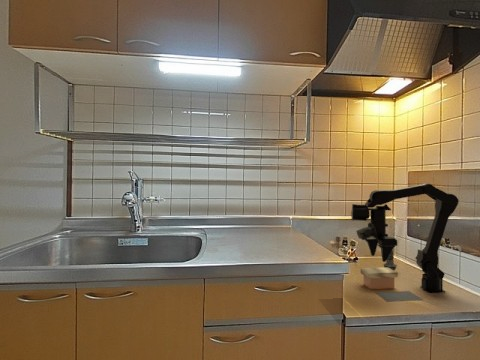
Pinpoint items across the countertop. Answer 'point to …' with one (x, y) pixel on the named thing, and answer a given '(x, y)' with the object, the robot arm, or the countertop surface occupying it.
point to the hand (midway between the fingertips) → (378, 258)
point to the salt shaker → (390, 262)
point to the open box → (379, 283)
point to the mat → (398, 296)
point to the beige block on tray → (378, 272)
